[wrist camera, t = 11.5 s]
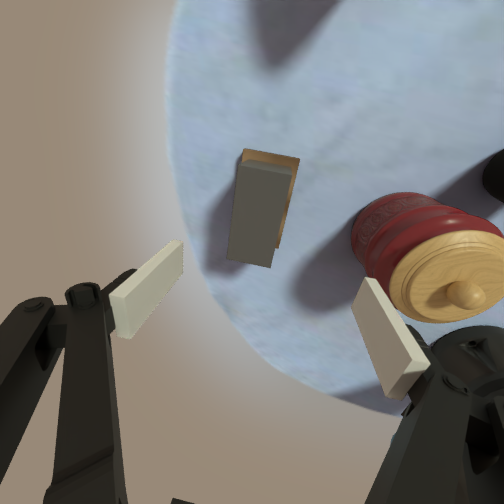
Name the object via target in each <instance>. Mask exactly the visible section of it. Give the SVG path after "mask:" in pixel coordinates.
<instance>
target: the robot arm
mask: <svg viewBox="0 0 504 504" xmlns="http://www.w3.org/2000/svg"><path fill="white" fill-rule="evenodd" d="M182 274H183V241H178V240H172V241H171V242H170V243H169V244H167V245H166V246H165V247H164V248H163V249H161V250H160V251H159V252H158V253H157V254H156V255H154V256H153V257H152V258H151V259H150V260H149V261H147V262H146V263H145V264H144V265H143V266H142V267H141V268H140V269H138V270H137V269H130V270H128V271H126V272H124V273H122V274H121V275H120V276H119V277H118V278H116V279H115V280H114V281H113V282H111V283H110V284H109V285H107V286H106V287H105V288H104V289H102V290H100V287H99V285H98V284H96V283H91V282H87V283H80V284H76V285H74V286H72V287H70V288H69V289H68V290H67V291H66V292H65V297H66V301H67V304H68V305H54V304H53V301H52V300H51V298H48V297H36V298H32V299H28V300H25V301H24V302H22V303H20V304H18V305H17V306H16V307H15V308H14V309H13V310H12V312H11V313H10V314H9V315H8V316H7V318H6V319H5V320H4V322H3V323H2V324H1V325H0V484H1V482H2V480H3V478H4V476H5V473H6V471H7V469H8V467H9V465H10V462H11V460H12V458H13V456H14V454H15V451H16V449H17V447H18V445H19V443H20V441H21V439H22V436H23V434H24V432H25V430H26V428H27V425H28V423H29V421H30V419H31V416H32V415H33V412H34V410H35V408H36V406H37V404H38V402H39V399H40V397H41V395H42V393H43V390H44V388H45V386H46V384H47V382H48V379H49V377H50V375H51V373H52V371H53V369H54V367H55V364H56V362H57V360H58V358H59V356H60V354H61V351H62V349H63V348H65V355H64V364H63V375H62V385H61V397H60V406H59V417H58V427H57V438H56V448H55V460H54V469H53V478H52V482H51V485H50V486H49V488H48V489H47V490H46V493H45V496H44V500H43V504H128V501H127V494H126V487H125V478H124V468H123V458H122V449H121V439H120V428H119V418H118V408H117V398H116V388H115V378H114V368H113V357H112V348H111V338H110V333H111V332H112V331H113V330H114V329H115V330H116V335H117V336H118V337H122V338H127V339H131V338H132V337H133V336H134V334H135V333H136V332H137V331H138V329H139V328H140V327H141V326H142V324H143V323H144V322H145V321H146V319H147V318H148V317H149V315H150V314H151V313H152V312H153V310H154V309H155V308H156V307H157V305H158V304H159V303H160V301H161V300H162V299H163V298H164V296H165V295H166V294H167V293H168V291H169V290H170V289H171V288H172V286H173V285H174V284H175V282H176V281H177V280H178V279H179V277H180V276H181V275H182ZM351 309H352V311H353V314H354V316H355V319H356V322H357V324H358V327H359V329H360V332H361V334H362V337H363V340H364V342H365V345H366V347H367V350H368V353H369V355H370V358H371V360H372V363H373V365H374V368H375V371H376V373H377V376H378V378H379V381H380V384H381V386H382V389H383V391H384V394H385V397H388V398H392V399H397V400H401V401H402V400H403V398H404V397H405V396H406V395H407V393H408V395H409V397H410V399H411V401H412V402H411V403H410V404H409V405H408V406H407V408H406V409H405V410H404V411H403V413H402V414H401V415H402V416H403V418H402V421H401V423H400V425H399V428H398V430H397V432H396V433H395V434H394V435H393V437H392V439H391V445H390V448H389V450H388V452H387V454H386V457H385V459H384V461H383V463H382V465H381V468H380V470H379V472H378V474H377V477H376V479H375V481H374V483H373V486H372V488H371V490H370V492H369V495H368V497H367V499H366V501H365V504H504V329H503V328H500V327H495V326H473V327H468V328H464V329H460V330H457V331H454V332H452V333H450V334H448V335H446V336H444V337H443V338H441V339H440V340H439V341H438V342H437V343H436V344H435V345H434V346H433V347H432V349H431V350H430V349H429V347H428V345H427V344H426V343H425V342H424V340H423V338H422V337H421V335H420V334H419V332H417V331H416V330H415V329H414V328H413V327H412V326H411V325H407V324H405V323H404V322H403V320H402V319H401V317H400V316H399V314H398V313H397V311H396V309H395V308H394V306H393V305H392V303H391V302H390V300H389V299H388V297H387V296H386V294H385V292H384V291H383V289H382V288H381V286H380V285H379V283H378V282H377V280H376V279H373V278H368V277H364V280H363V282H362V284H361V286H360V288H359V291H358V293H357V295H356V297H355V299H354V302H353V304H352V306H351ZM171 504H194V503H190V502H186V501H183V500H179V499H175V498H173V499H172V502H171Z"/></svg>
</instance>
